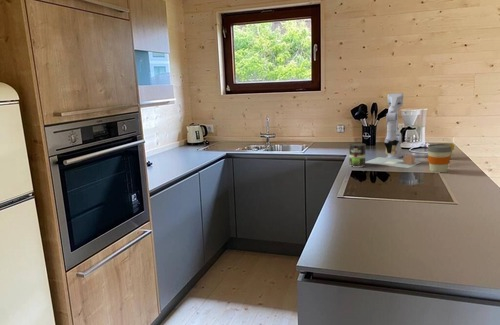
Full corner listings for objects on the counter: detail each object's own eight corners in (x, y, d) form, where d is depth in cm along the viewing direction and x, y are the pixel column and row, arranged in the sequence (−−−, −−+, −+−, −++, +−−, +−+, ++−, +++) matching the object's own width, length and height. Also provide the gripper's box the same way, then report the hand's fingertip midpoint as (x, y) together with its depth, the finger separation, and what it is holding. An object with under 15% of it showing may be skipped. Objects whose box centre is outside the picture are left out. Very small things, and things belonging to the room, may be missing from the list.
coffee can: (363, 167, 241) (363, 145, 238) (347, 166, 246) (347, 145, 243) (367, 164, 250) (367, 143, 247) (351, 163, 254) (351, 142, 251)
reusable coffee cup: (453, 173, 216) (454, 147, 212) (429, 173, 218) (430, 148, 215) (446, 168, 228) (448, 143, 224) (424, 168, 230) (425, 144, 227)
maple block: (389, 152, 250) (389, 145, 249) (396, 153, 246) (396, 145, 245) (385, 154, 246) (385, 146, 245) (393, 154, 243) (393, 147, 242)
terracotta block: (406, 162, 246) (406, 154, 245) (414, 163, 243) (414, 155, 242) (403, 163, 243) (403, 155, 242) (411, 164, 240) (411, 156, 239)
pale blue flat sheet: (378, 157, 266) (378, 157, 266) (421, 162, 245) (422, 161, 245) (363, 163, 253) (363, 162, 253) (408, 168, 232) (408, 167, 231)
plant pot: (449, 156, 257) (450, 142, 255) (456, 160, 247) (456, 145, 245) (433, 157, 258) (434, 143, 256) (439, 160, 248) (440, 145, 246)
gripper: (391, 129, 251) (390, 149, 254) (380, 132, 241) (379, 153, 244) (401, 130, 246) (400, 150, 249) (390, 133, 236) (390, 154, 239)
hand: (391, 152), depth 246 cm, fingers closed on maple block, 5 cm apart
